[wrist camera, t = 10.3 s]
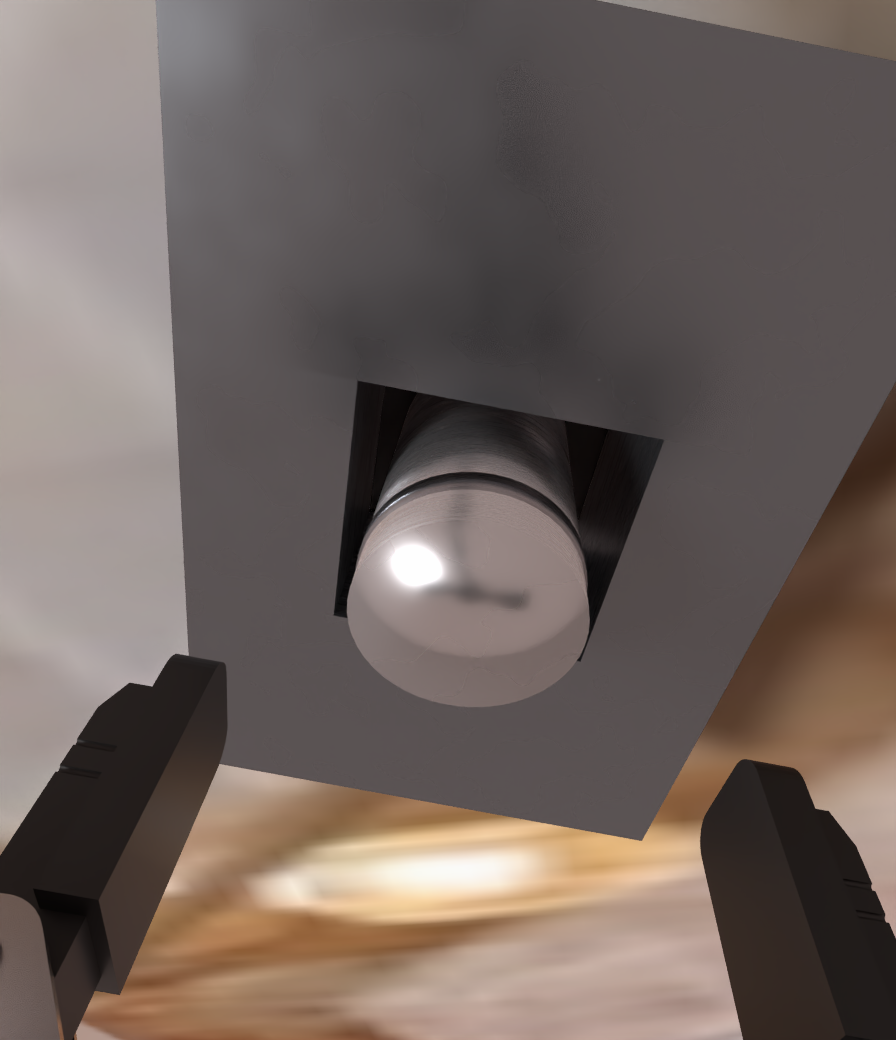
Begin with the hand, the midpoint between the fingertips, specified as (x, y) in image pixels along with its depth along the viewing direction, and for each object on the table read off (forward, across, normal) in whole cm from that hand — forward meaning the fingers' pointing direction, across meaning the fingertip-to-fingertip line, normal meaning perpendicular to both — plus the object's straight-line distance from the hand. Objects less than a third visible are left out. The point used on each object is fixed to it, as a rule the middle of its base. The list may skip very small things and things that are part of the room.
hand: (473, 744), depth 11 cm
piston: (+11, 0, 0) cm, 11 cm away
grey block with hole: (+11, 0, 0) cm, 11 cm away
